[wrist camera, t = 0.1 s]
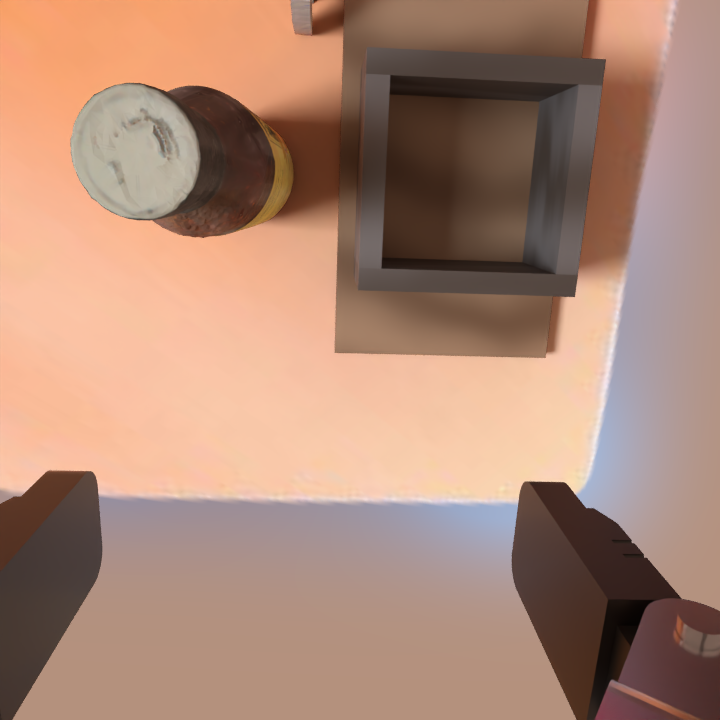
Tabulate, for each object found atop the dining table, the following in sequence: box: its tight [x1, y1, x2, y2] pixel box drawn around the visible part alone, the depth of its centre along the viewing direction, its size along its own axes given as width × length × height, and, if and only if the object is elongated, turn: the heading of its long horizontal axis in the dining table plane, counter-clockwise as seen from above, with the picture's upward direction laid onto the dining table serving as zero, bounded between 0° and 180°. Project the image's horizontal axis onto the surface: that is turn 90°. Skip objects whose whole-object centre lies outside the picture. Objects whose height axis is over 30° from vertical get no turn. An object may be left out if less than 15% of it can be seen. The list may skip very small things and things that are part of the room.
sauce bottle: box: [71, 83, 294, 238], centre depth 28 cm, size 7×6×20 cm
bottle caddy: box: [335, 0, 606, 358], centre depth 35 cm, size 22×14×7 cm, turn 178°
